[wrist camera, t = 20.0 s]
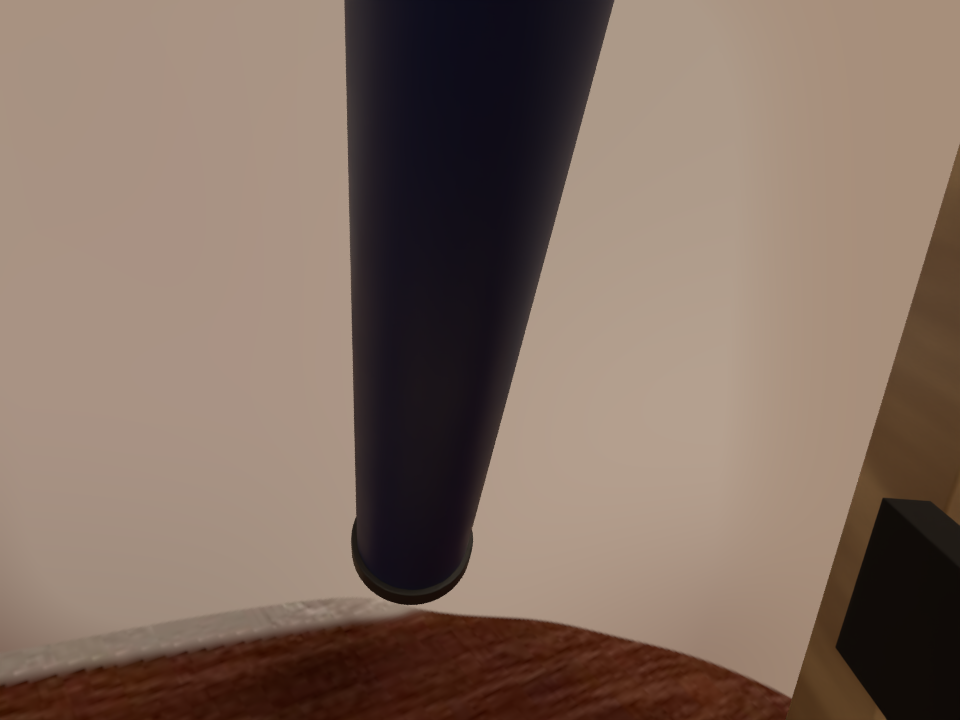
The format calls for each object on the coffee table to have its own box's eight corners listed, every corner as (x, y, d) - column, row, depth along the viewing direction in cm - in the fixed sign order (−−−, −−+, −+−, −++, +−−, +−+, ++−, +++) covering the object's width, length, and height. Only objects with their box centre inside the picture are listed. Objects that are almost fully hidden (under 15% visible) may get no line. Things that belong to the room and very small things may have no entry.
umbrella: (469, 608, 28) (780, -340, 7) (345, 602, 27) (279, -424, 6) (473, 379, 33) (647, -500, 13) (371, 371, 33) (382, -549, 12)
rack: (749, 860, 26) (1074, -201, 16) (876, 1167, 19) (1625, -448, 9) (-15, 842, 24) (-189, -406, 14) (-218, 1185, 17) (-909, -980, 6)
